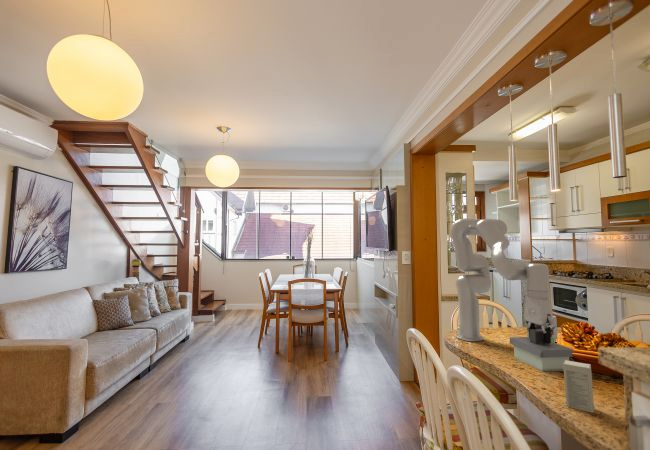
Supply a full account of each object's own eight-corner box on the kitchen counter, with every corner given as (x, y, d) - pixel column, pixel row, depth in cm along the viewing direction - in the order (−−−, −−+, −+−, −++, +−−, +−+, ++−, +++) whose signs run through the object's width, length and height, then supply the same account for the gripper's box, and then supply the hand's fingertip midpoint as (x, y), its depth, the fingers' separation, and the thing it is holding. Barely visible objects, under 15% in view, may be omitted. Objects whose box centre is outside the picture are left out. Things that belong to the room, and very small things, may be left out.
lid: (510, 343, 136) (509, 325, 136) (538, 342, 137) (538, 324, 138) (541, 357, 119) (540, 336, 119) (573, 356, 120) (572, 335, 121)
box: (514, 357, 135) (513, 340, 135) (538, 356, 136) (538, 339, 136) (542, 371, 120) (541, 352, 120) (569, 370, 121) (568, 351, 121)
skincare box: (594, 408, 93) (592, 364, 94) (593, 414, 90) (591, 368, 90) (566, 400, 97) (564, 359, 98) (564, 406, 94) (563, 362, 95)
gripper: (514, 291, 138) (515, 334, 136) (546, 298, 120) (548, 347, 119) (530, 291, 138) (532, 334, 137) (564, 298, 121) (566, 347, 120)
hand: (539, 340), depth 128 cm, fingers open, 6 cm apart
